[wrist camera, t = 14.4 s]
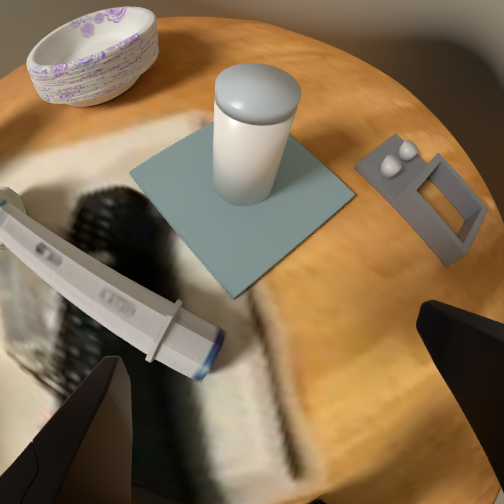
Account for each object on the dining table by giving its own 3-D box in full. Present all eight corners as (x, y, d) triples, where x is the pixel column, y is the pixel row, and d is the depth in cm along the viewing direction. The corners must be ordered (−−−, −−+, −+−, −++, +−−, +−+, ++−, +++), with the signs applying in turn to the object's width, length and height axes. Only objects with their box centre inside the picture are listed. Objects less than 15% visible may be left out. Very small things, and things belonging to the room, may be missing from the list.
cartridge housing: (471, 221, 28) (488, 209, 25) (446, 266, 25) (465, 255, 22) (392, 137, 30) (403, 120, 28) (353, 168, 28) (365, 149, 25)
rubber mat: (352, 198, 26) (355, 194, 26) (233, 299, 22) (234, 297, 21) (249, 107, 29) (250, 103, 29) (130, 175, 25) (129, 171, 24)
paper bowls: (138, 40, 34) (133, -5, 26) (181, 87, 30) (178, 28, 22) (41, 84, 29) (24, 41, 22) (54, 147, 25) (26, 93, 18)
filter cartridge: (277, 165, 26) (304, 74, 17) (266, 212, 24) (295, 122, 15) (221, 152, 26) (228, 57, 17) (204, 198, 24) (203, 102, 15)
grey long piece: (196, 397, 16) (-57, 205, 14) (191, 383, 22) (-21, 233, 21) (236, 319, 18) (-23, 154, 16) (221, 326, 24) (7, 190, 23)
